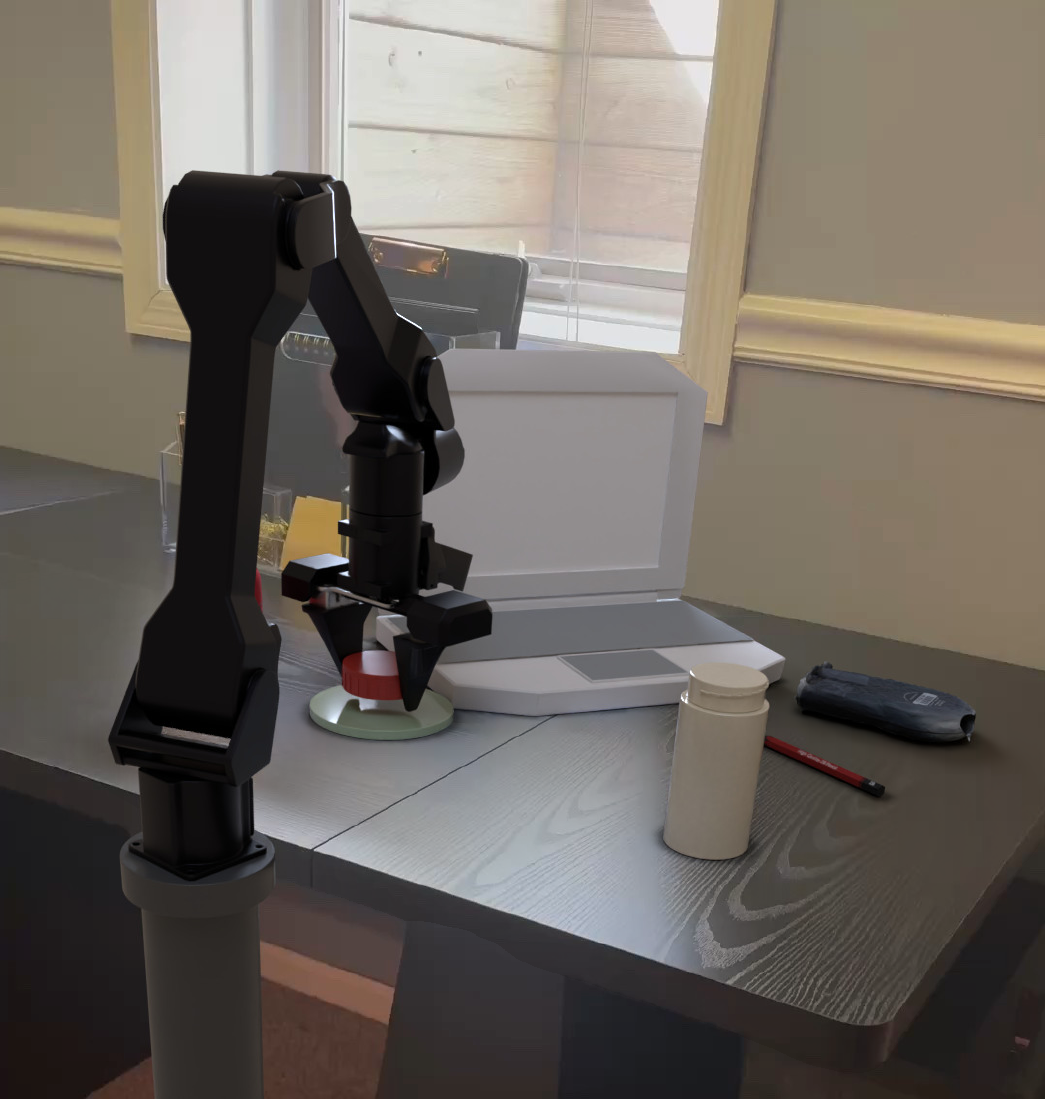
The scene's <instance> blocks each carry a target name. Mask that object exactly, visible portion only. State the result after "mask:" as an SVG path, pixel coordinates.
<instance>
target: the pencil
mask: <svg viewBox="0 0 1045 1099" xmlns="http://www.w3.org/2000/svg"><path fill="white" fill-rule="evenodd" d="M764 746H766V747H768V748H771V749H772V750H774V751H776V752H779V753H781V754H784V755H786V756H788V757H790V758H792V759H794V760H797V761H798V762H801V763H803V764H806V765H808V766H810V767H812V768H815V769H817V770H819V771H821V772H823V773H825V774H828V775H829V776H832V777H834V778H836V779H839V780H841V781H843V782H845V783H848V784H850V785H852V786H854V787H857V788H858V789H861V790H863V791H866V792H868V793H870V794H872V795H874V796H876V797H878V798H881V797H882V796H883V795H884V794H885V791H886V786H884V785H883V784H882V783H881V784H880V783H879V782H876V781H874V780H872V779H869V778H868V777H865V776H862V775H861V774H858V773H856V772H854V771H851V770H849V769H847V768H845V767H842V766H840V765H837V764H835V763H833V762H831V761H829V760H827V759H824V758H822V757H820V756H817V755H815V754H813V753H811V752H808V751H806V750H803V749H801V748H799V747H797V746H795V745H793V744H791V743H788V742H786V741H784V740H781V739H779V738H777V737H774V736H772V735H767V734H765V740H764Z"/></svg>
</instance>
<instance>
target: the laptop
mask: <svg viewBox="0 0 1045 1099" xmlns="http://www.w3.org/2000/svg"><path fill="white" fill-rule="evenodd" d="M437 357H438V358H439V359H440V360H441V362H442V365H443V370H444V374H445V379H446V383H447V388H448V392H449V397H450V401H451V406H452V410H453V415H454V420H455V425H454V428H455V429H456V431H457V432H458V434H459V436H460V438H461V440H462V444H463V447H464V449H465V458H464V463H463V466H462V468H461V471H460V473H459V474H458V475H457V477H456V478H455V479H454V480H452V481H451V482H450V483H448V484H446V485H444V486H442V487H440V488H438V489H436V490H434V491H432V492H430V493H428V494H426V495H423V507H422V521H425V522H429V523H433V527H434V529H435V542H437V543H440V544H443V545H446V546H449V547H452V548H455V549H458V550H461V551H464V552H466V553H469V554H472V555H473V558H472V561H471V565H470V568H469V572H468V576H467V579H466V583H465V587H464V590H463V592H462V591H458V590H455V589H453V587H452V586H450V585H447V584H443V583H438V588H436V589H432V590H425V589H422V590H419V595H421V596H424V597H426V596H431V595H435V594H439V593H443V592H447V591H451V590H455V591H458V592H462V593H465V594H469V595H472V596H475V597H479V598H482V599H485V600H486V601H487V603H488V604H489V605H490V607H491V608H492V614H493V616H492V634H491V635H488V636H484V637H481V638H477V639H474V640H470V641H467V642H463V643H460V644H456V645H453V646H449V647H446V648H445V649H444V651H443V652H442V654H441V656H440V658H439V659H438V661H437V663H436V665H435V667H434V670H433V672H432V675H431V677H430V679H429V682H428V684H427V687H428V688H430V690H431V691H433V692H436V693H438V694H440V695H442V696H444V697H445V698H447V699H448V700H449V701H450V702H451V703H452V705H453V708H454V710H463V711H464V710H466V711H475V712H476V711H477V712H487V713H497V714H506V715H518V716H527V717H528V716H529V717H540V716H541V717H542V716H552V715H564V714H575V713H586V712H596V711H597V712H598V711H607V710H618V709H619V710H620V709H628V708H641V707H651V706H661V705H672V704H680V696H681V694H682V693H683V692H684V691H685V690H687V688H688V680H689V672H690V669H691V668H692V667H694V666H696V665H699V664H704V663H732V664H738V665H743V666H747V667H750V668H753V669H756V670H758V671H760V672H762V673H763V674H765V675H766V677H767V679H768V680H769V685H770V684H773V683H775V682H777V681H779V680H781V677H782V674H783V671H784V667H785V664H786V661H787V658H785V656H783V655H781V654H779V653H778V652H776V651H774V650H772V649H771V648H768V647H766V646H765V645H763V644H761V643H759V642H758V641H756V640H755V639H754V638H752V637H751V636H749V635H748V634H746V633H743V632H742V631H740V630H738V629H736V628H734V627H732V626H731V625H729V624H727V623H725V622H724V621H722V620H720V619H718V618H716V617H714V616H712V614H709V613H707V612H705V611H703V610H702V609H700V608H698V607H696V606H694V605H693V604H691V603H689V602H687V601H685V600H682V599H680V598H682V593H683V589H684V588H685V587H686V580H687V570H688V564H689V562H688V561H689V554H690V545H691V544H690V543H691V537H692V529H693V528H692V527H693V521H694V512H695V503H696V495H697V488H698V487H697V486H698V478H699V470H700V463H701V462H700V461H701V454H702V446H703V437H704V430H705V429H704V428H705V420H706V411H707V404H708V395H709V392H708V391H707V390H706V389H704V388H703V387H702V386H700V385H699V384H698V383H697V382H695V380H693V379H691V378H690V377H689V376H688V375H686V374H685V373H684V372H682V371H681V370H679V368H677V367H676V366H675V365H673V364H672V363H670V362H669V361H668V360H666V359H665V358H664V357H663V356H662V355H660V354H658V352H655V351H614V350H613V351H609V350H604V351H603V350H600V351H599V350H561V349H560V350H557V349H554V350H552V349H505V348H504V349H502V348H501V349H500V348H498V349H497V348H449V349H448V350H445V351H444V352H442V353H440V354H439V355H437ZM394 601H397V602H399V600H394ZM377 613H378V615H377V616H376V618H375V621H376V622H375V640H377V641H378V642H379V643H380V644H381V645H382V646H383V647H384V648H385V649H387V651H393V652H395V649H394V643H393V636H395V635H399V634H403V633H407V632H410V631H409V630H408V628H407V617H405V616H402V615H399V614H396V613H392V612H389V611H386V610H383V609H380V608H377Z"/></svg>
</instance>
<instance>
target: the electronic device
mask: <svg viewBox="0 0 1045 1099" xmlns="http://www.w3.org/2000/svg"><path fill="white" fill-rule="evenodd" d="M793 699H794V700H795V701H796V702H797V705H798V708H799V710H800V711H801V712H803V711H810V712H811V711H812V712H817V713H818V714H822V715H826V716H827V717H828V716H829V717H833V718H838V719H840V720H850V721H852V722H854V723H858V724H864V725H871V726H874V727H876V728H879V729H880V730H882V731H885V732H887V733H889V734H893V735H895V736H901V737H905V738H907V739H909V740H918V741H920V742H928V743H946V742H954V741H959V740H961V739H964V738H965V737H967V740H968V742H970V741H971V736H972V734H973V733H974V731H975V727H976V726H975V724H976V718H977V712H976V710H974V708H973V707H971V705H970V704H969V703H968V702H966V701H965V700H964V699H961V698H960V697H958V696H957V695H953V694H951V693H949V692H945V691H941V690H938V689H935V688H930V687H925V686H922V685H921V686H920V685H917V684H913V683H909V682H904V681H901V680H895V679H892V678H883V677H879V676H870V675H869V674H865V673H861V672H860V673H859V672H854V671H848V670H840V669H835V668H833V664H831V663H830V662H829V661H827V660H826V661H824V662H822V663H821V664H817V665H814V666H812V668H811V670H810V671H808V672H806V674H805V675H804V677H803V678H800V680H799V684H798V685H797V688H796V695H795V697H794V698H793Z"/></svg>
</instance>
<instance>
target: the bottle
mask: <svg viewBox="0 0 1045 1099" xmlns="http://www.w3.org/2000/svg"><path fill="white" fill-rule="evenodd" d="M769 685H770V684H769V680H768V679H767V677H766V675H765V674H763V673H762V672H760V671H758V670H756V669H753V668H750V667H747V666H743V665H738V664H732V663H704V664H699V665H696V666H694V667H692V668H691V669H690V672H689V680H688V688H687V690H685V691H684V692H683V693H682V694H681V696H680V703H678V713H677V720H676V729H675V738H674V744H673V753H672V761H671V770H670V777H669V783H668V784H669V785H668V793H667V802H666V808H665V817H664V826H663V832H662V833H663V834H662V839H663V842H664V843H665V845H666V846H668V847H669V848H670V849H671V850H673V851H675V852H677V853H679V854H682V855H684V856H688V857H691V858H696V859H700V860H711V861H718V860H719V861H720V860H721V861H722V860H730V859H733V858H737V857H740V856H741V855H743V854H744V853H745V852H746V851H747V850H748V848H749V842H750V836H751V828H752V822H753V816H754V809H755V804H756V803H755V802H756V795H757V790H758V784H759V778H760V772H761V765H762V760H763V759H762V757H763V752H764V746H765V744H764V740H765V735H766V732H767V727H768V719H769V713H770V702H769V701H768V700H767V699H766V693H767V689H768V688H769Z"/></svg>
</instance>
